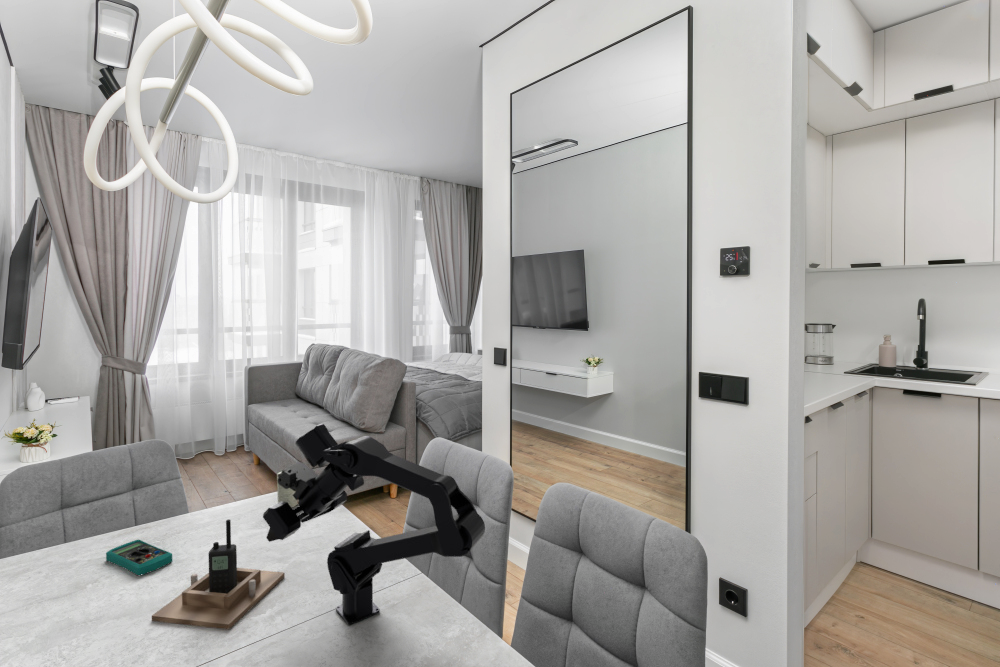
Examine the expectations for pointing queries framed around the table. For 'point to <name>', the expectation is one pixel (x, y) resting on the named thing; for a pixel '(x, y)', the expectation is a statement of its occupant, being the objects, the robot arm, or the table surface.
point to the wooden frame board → (218, 600)
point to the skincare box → (286, 494)
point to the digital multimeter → (139, 557)
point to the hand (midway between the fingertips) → (285, 529)
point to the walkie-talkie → (223, 565)
